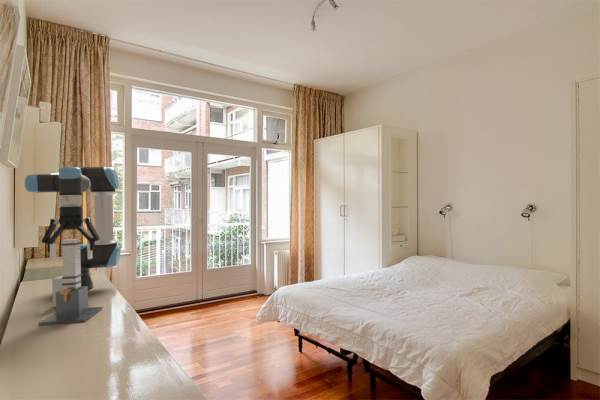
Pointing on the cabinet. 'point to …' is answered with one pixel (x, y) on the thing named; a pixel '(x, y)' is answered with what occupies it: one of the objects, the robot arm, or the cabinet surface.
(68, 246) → the column
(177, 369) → the cabinet surface
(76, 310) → the stand base
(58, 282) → the supplement box
